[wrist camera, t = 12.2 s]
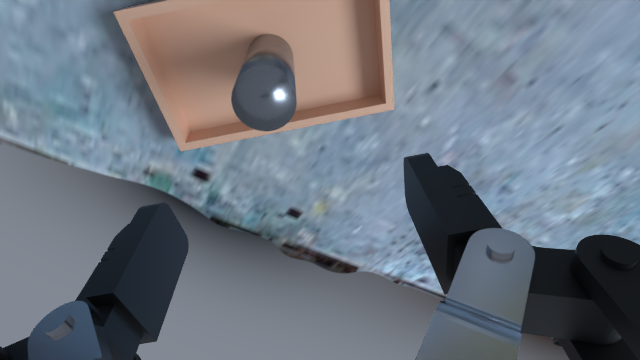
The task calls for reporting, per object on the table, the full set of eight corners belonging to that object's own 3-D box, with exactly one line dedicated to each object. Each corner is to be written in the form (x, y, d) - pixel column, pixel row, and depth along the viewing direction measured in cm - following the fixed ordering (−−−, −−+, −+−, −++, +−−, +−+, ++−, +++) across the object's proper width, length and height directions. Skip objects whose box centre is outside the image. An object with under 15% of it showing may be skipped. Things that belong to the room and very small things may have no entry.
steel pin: (287, 29, 30) (288, 63, 21) (297, 76, 33) (302, 124, 24) (240, 39, 30) (221, 77, 21) (254, 85, 33) (242, 136, 24)
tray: (378, -47, 28) (387, -47, 26) (387, 98, 35) (394, 109, 33) (128, 6, 29) (113, 11, 26) (188, 137, 36) (180, 151, 34)
